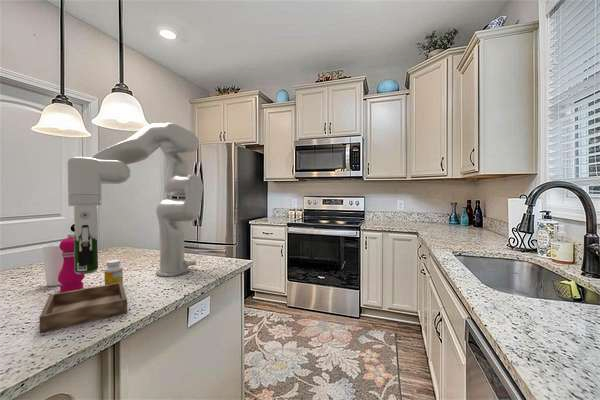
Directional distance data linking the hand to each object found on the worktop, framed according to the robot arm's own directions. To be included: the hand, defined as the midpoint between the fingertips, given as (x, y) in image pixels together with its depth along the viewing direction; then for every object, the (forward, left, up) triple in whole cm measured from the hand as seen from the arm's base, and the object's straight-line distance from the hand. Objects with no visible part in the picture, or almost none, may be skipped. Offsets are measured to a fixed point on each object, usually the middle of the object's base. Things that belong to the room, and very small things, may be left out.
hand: (86, 262), depth 77 cm
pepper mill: (+5, -25, -14) cm, 29 cm away
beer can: (0, 0, -3) cm, 3 cm away
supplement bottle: (-7, -18, -14) cm, 24 cm away
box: (0, 0, -14) cm, 14 cm away
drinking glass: (+10, -35, -14) cm, 39 cm away
